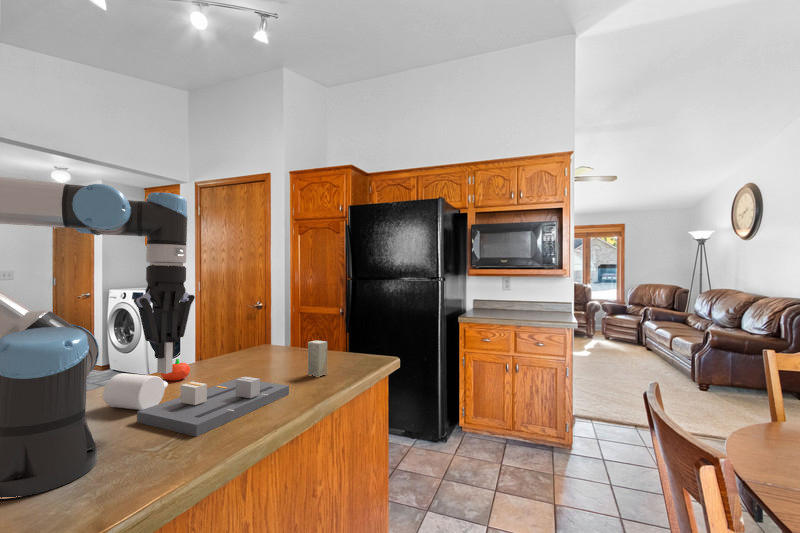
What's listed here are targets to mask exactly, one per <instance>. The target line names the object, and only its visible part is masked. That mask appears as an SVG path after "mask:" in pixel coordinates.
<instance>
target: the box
mask: <svg viewBox="0 0 800 533" xmlns="http://www.w3.org/2000/svg"><path fill="white" fill-rule="evenodd" d="M324 374H327V375H328V341H326V340H324V341H323V340H313V341H308V342H307V376H308V375H313V376H321V375H324ZM313 376H312V377H313Z"/></svg>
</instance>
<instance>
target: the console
mask: <svg viewBox="0 0 800 533" xmlns="http://www.w3.org/2000/svg"><path fill="white" fill-rule="evenodd" d="M239 378H240V377H238V378H237V377H236V378H235V379H230V380H228V381H226V382H221V383H219V384H217V385H213V386H209V387H207V401H205V402H202V403H200V404H197V405H192V404H187V403H182V402H180V397H177V398H174V399H171V400H168V401H165V402H162V403H159V404H158V405H155V406H152V407H149V408H146V409H143V410H136V411H137V412H136V423H138V424H142V425H147V426H150V427H154V428H158V429H164V430H168V431H172V432H177V433H180V434H184V435H189V436H192V437H199V436H201V435H203V434H206V433H207V432H209V431H212V430H214V429H216V428H218V427H220V426H223V425H225V424H227V423H229V422H231V421H234V420H236V419H238V418H240V417H243V416H245V415H247V414H249V413H251V412H254V411H257V410H258V409H261V408H262V407H265V406H267V405H269V404H271V403H274V402H276V401H277V399H278V400H280V399H282V398H284V397H286V395H287V396H289V395H288V394H290V385H288V384H280V383H273V382H266V381H261V380H260V395H257V396H255V397H253V398H246V397H240V396H235V393H236V379H239ZM281 397H282V398H281ZM275 400H276V401H275ZM264 405H265V406H264Z"/></svg>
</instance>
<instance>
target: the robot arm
mask: <svg viewBox="0 0 800 533" xmlns="http://www.w3.org/2000/svg"><path fill="white" fill-rule="evenodd" d="M0 225H13V226H15V225H16V226H29V227H31V226H32V227H49V228H65V229H67V228H69V229H75V230H76V231H77V232H78V233H79V234H88V235H96V236H100V235H103V236H104V235H106V236H124V237H125V236H130V237H131V236H132V237H146V255H145V256H146V257H145V262H146V263H147V264H149V265H147V267H145V268H146V270H145V271H146V272H145V275H146V276H145V281H146V283H147V286H146V289H145V291H144V292H145V293H144V294H143V295H141V296H140V297H135V298H133V303H134V304H135V305H136V307H137V309H138V312H139V318H140V322H141V326H142V331H143V335H144V339H145V342H151V343H153V344H154V357H155V359H157V366H156V367H157V368H156V373H159V374H161V373H164V374H167V373H171V372H172V364H173V358H174V356H175V355H176V343H178V342H179V341H180V338H184V336H185V332H186V328H187V324H188V319H189V314H190V310H191V306H192V304H193V302H194V300H195V298H196V297H195V295H194V294H190V293H188V292H186V287H185V282H186V281H187V267H186V266H185V265H184V264H186V263H187V247H188V245H187V242H188V241H187V240H188V239H187V236H188V235H187V234H188V203H187V199H186V198H185V197H184V196H182V195H180V194H176V193H173V192H172V193H170V192H157V191H156V192H150V193H149V194H148V195H147V198H146V200H131V199H128V198H127V197H126V196H125V194H124V193H122V192H121V191H120V190H119V189H117V188H115V187H112V186H111V185H108V184H102V183H92V184H88V185H82V184H81V185H80V184H67V183H61V182H52V181H43V180H36V179H35V180H34V179H25V178H15V177H7V176H0ZM151 304H152V305H151ZM99 347H100V346H99V343H98V341H97V339H96V337H95V336H94V334H93V333H92V332H90V331H89V330H88V329H86V328H84V327H82V326H80V325H75V324H73V323H69V322H67V321H66V320H65V319H63V318H61V317H60V316H58V314H55V313H54V312H52V311H51V310H50V309H46V310H32V309H31V308H30V307H28V306H27V305H25V304H24V303H22V302H20V301H19V300H17V299H16V298H14V297H13V296H11V295H10V294H8V293H6V292H5V291H3V290H2V289H0V497H1V498H2V497H16V496H17V497H18V496H25V497H27V496H26V495H30V496H33V495H32V494H34V495H37V494H41V493H44V492H47V491H50V490H54V489H56V488H59V487H61V486H64V485H67V484H69V483H71V482H73V481H75V480H77V479H79V478H81V477H82V476H84V475H85V474H87V473H88V472H90V471H91V470H92V469H93V468H94V467H95V466H96V464H97V461H98V458H97V457H98V447H97V444H96V442H95V440H94V439H95V438H94V437H93V435H92V433H91V429H90V427H89V425H88V422H87V419H86V414H87V413H86V409H87V408H86V406H87V384H88V383H87V381H88V376H89V374H90V373H91V372H92V371H93V370H94V369H95V368H96V365H97V362H98V361H99V358H100V357H99V354H100V349H99Z"/></svg>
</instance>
